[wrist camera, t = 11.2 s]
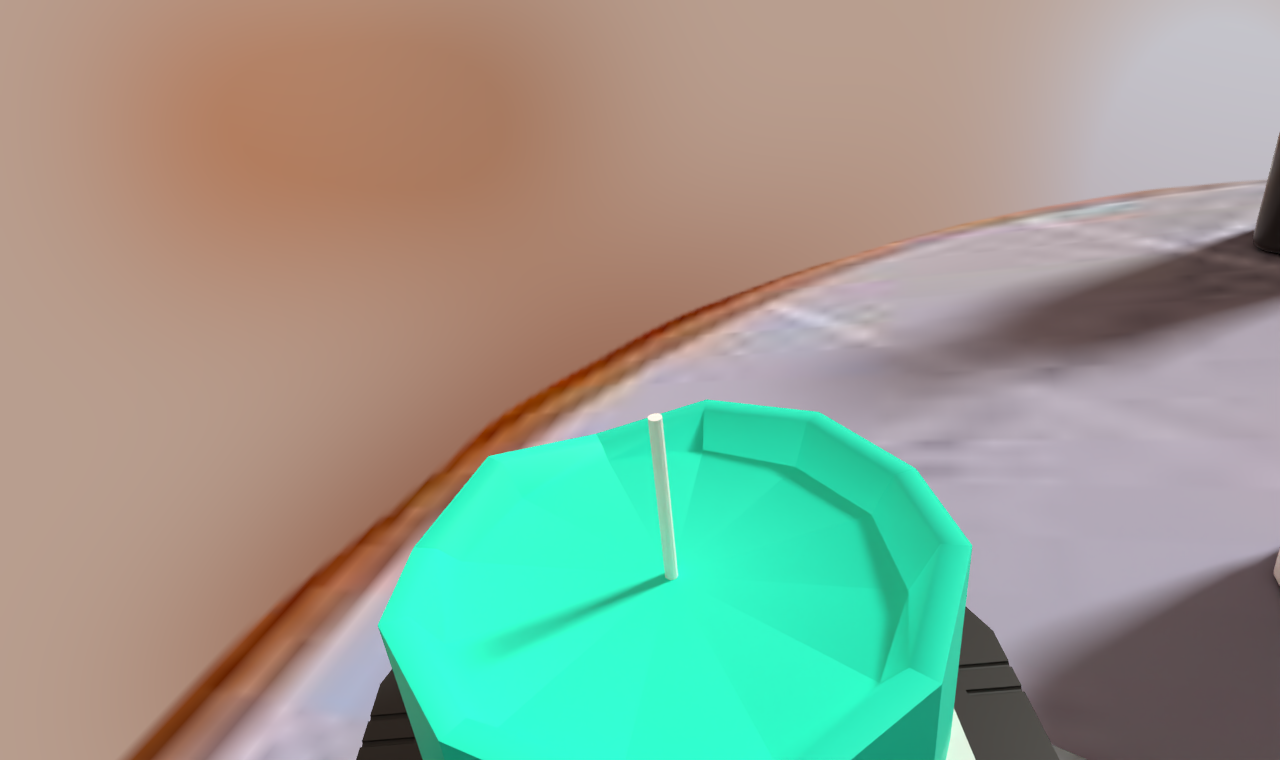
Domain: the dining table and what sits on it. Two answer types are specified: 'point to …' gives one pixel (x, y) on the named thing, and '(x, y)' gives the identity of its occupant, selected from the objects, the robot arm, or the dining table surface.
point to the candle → (686, 599)
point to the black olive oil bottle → (1270, 210)
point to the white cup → (1277, 569)
